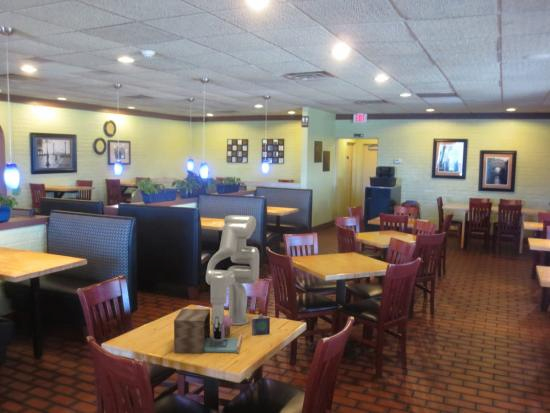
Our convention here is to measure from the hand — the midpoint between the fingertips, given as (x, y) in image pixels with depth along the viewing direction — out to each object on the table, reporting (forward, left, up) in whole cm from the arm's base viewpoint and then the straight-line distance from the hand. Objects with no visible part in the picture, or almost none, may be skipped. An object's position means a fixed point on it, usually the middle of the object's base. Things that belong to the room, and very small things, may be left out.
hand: (218, 336), depth 226 cm
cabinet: (0, -12, -5) cm, 14 cm away
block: (0, 0, -1) cm, 1 cm away
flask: (-17, +20, -5) cm, 26 cm away
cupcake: (-15, +1, -5) cm, 16 cm away
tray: (0, +2, -5) cm, 5 cm away
